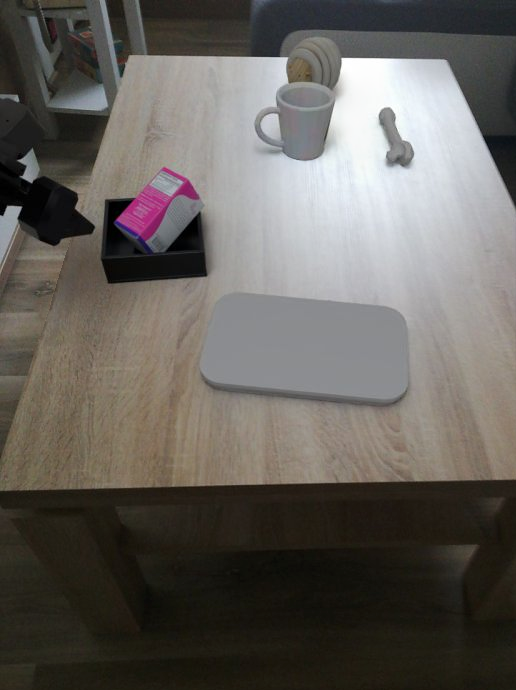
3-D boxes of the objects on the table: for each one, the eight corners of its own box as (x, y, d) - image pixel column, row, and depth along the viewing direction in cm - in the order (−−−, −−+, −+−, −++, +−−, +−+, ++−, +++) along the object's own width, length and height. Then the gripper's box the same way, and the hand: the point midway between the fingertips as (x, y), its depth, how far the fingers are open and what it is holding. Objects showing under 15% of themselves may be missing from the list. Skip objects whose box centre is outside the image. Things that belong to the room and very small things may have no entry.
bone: (413, 170, 102) (417, 151, 99) (384, 169, 102) (388, 149, 99) (402, 121, 113) (405, 102, 110) (376, 120, 113) (379, 101, 110)
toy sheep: (271, 105, 115) (271, 45, 106) (311, 75, 124) (314, 18, 115) (315, 120, 112) (319, 60, 103) (353, 88, 121) (360, 30, 112)
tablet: (405, 412, 69) (408, 401, 67) (196, 392, 69) (194, 380, 68) (403, 319, 79) (406, 308, 77) (219, 302, 79) (218, 290, 77)
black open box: (108, 283, 81) (100, 258, 77) (111, 224, 89) (104, 199, 85) (207, 276, 82) (204, 251, 79) (201, 218, 91) (198, 193, 87)
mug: (340, 158, 104) (346, 103, 96) (266, 174, 99) (265, 117, 91) (316, 131, 109) (319, 77, 101) (244, 145, 105) (242, 90, 97)
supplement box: (132, 246, 85) (182, 192, 87) (156, 262, 83) (207, 207, 84) (111, 221, 80) (164, 164, 81) (136, 238, 77) (190, 179, 79)
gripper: (32, 106, 50) (147, 180, 65) (-74, 58, 58) (50, 134, 72) (-15, 220, 52) (107, 268, 66) (-112, 159, 60) (16, 213, 74)
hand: (69, 216), depth 69 cm, fingers open, 9 cm apart
